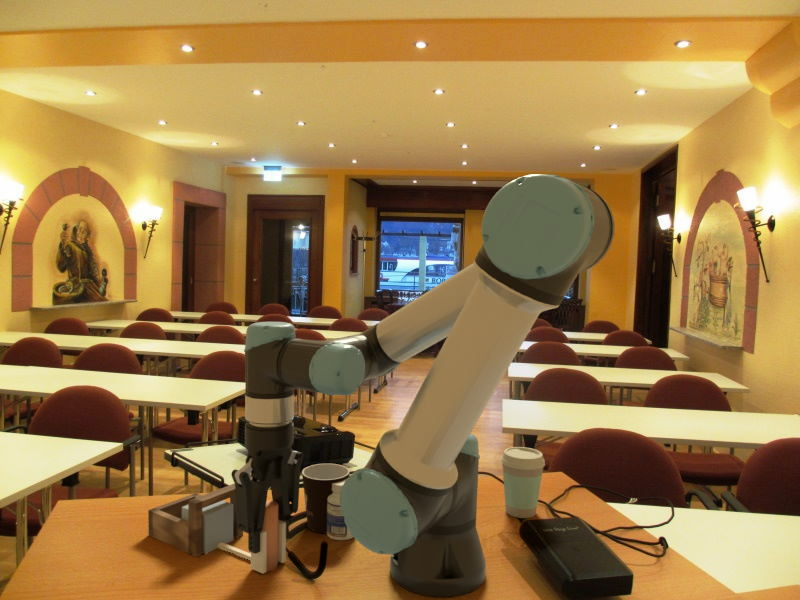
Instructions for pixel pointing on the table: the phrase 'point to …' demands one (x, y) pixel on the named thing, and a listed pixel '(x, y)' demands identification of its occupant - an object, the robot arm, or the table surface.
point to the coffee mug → (320, 491)
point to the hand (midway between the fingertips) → (268, 564)
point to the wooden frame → (188, 534)
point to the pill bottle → (336, 515)
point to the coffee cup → (522, 480)
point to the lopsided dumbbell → (221, 530)
